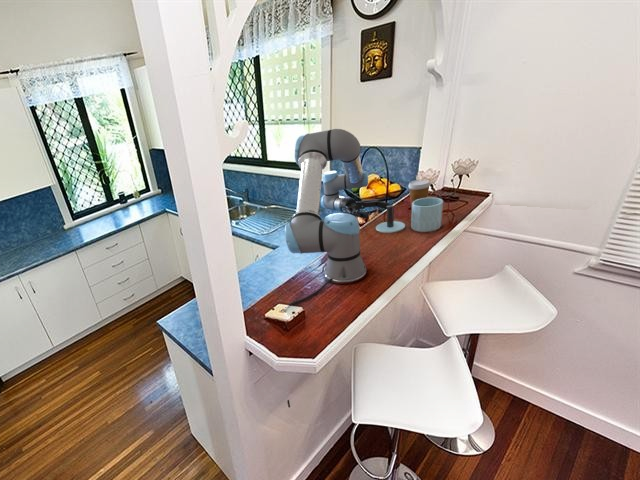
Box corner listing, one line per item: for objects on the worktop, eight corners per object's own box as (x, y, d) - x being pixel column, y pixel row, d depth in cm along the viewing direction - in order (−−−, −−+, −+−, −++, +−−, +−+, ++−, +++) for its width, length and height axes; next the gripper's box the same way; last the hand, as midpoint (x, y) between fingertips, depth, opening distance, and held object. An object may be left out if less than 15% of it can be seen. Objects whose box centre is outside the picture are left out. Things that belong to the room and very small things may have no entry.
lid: (391, 236, 152) (392, 212, 146) (370, 230, 162) (369, 208, 156) (411, 226, 156) (411, 203, 150) (388, 221, 166) (388, 199, 160)
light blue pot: (429, 234, 145) (430, 208, 139) (405, 229, 154) (406, 204, 149) (446, 225, 149) (449, 199, 143) (422, 220, 158) (424, 196, 152)
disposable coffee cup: (424, 201, 176) (426, 178, 170) (431, 207, 168) (433, 182, 162) (405, 205, 178) (405, 181, 172) (411, 211, 170) (411, 186, 164)
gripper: (363, 203, 183) (397, 209, 166) (327, 220, 175) (359, 228, 158) (362, 189, 179) (397, 194, 162) (326, 205, 171) (358, 212, 154)
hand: (378, 210), depth 160 cm, fingers open, 13 cm apart
